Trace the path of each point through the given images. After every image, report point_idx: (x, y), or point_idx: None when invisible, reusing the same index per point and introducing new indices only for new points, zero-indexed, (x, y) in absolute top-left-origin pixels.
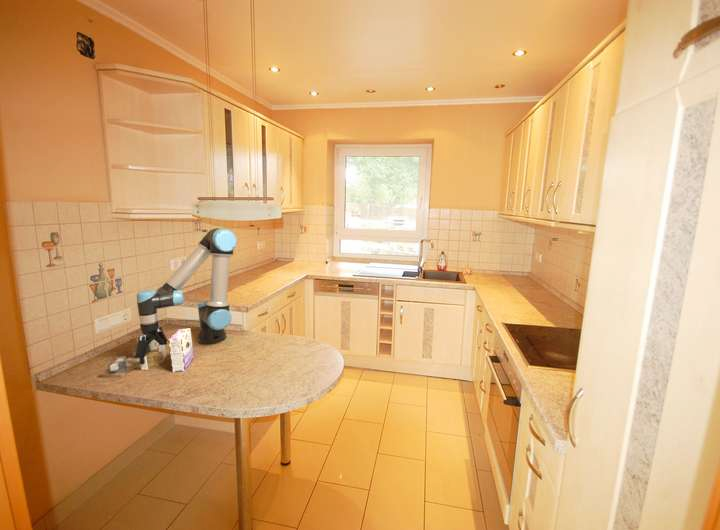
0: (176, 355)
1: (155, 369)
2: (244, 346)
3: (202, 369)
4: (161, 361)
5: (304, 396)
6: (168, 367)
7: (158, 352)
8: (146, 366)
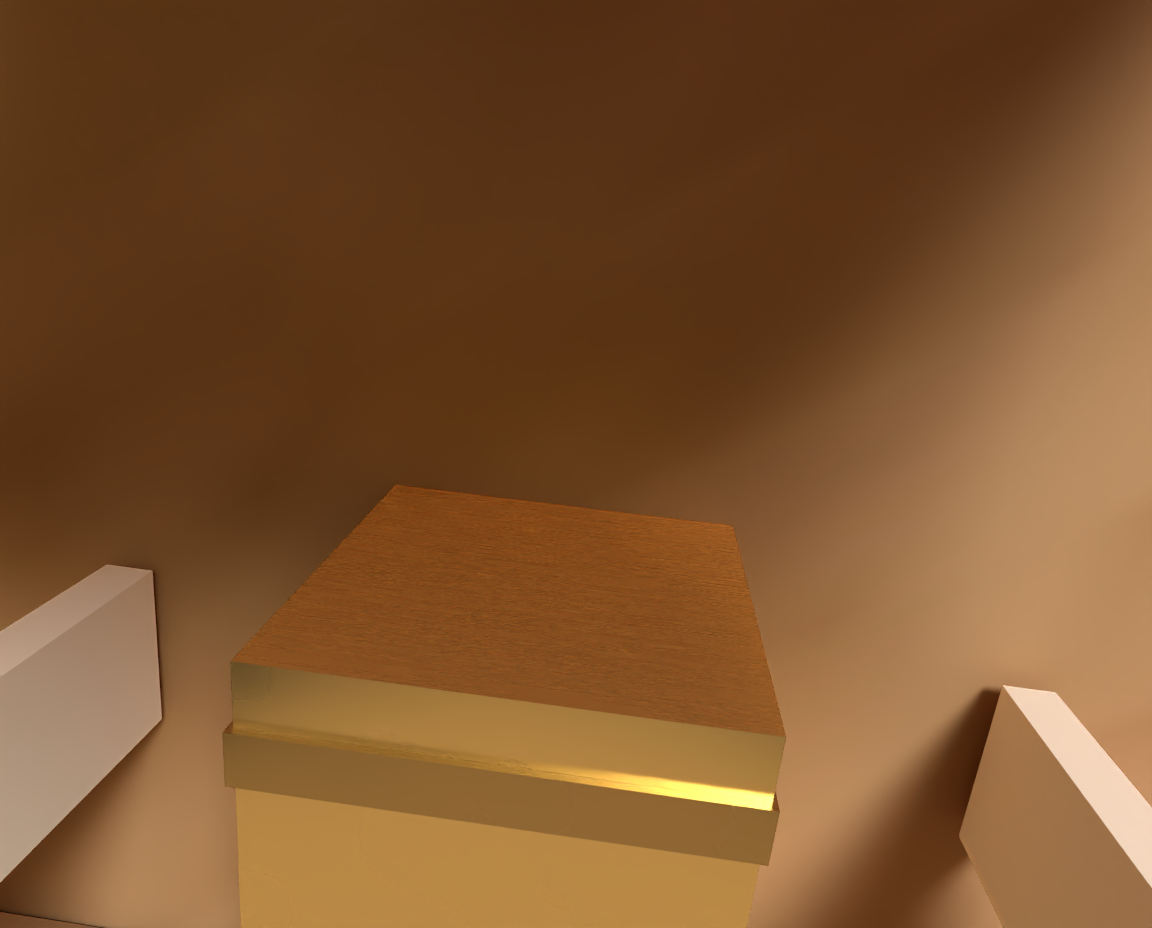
0: None
1: (1034, 452)
2: None
3: None
4: (511, 515)
5: None
6: (974, 20)
7: (311, 825)
8: (1116, 772)
